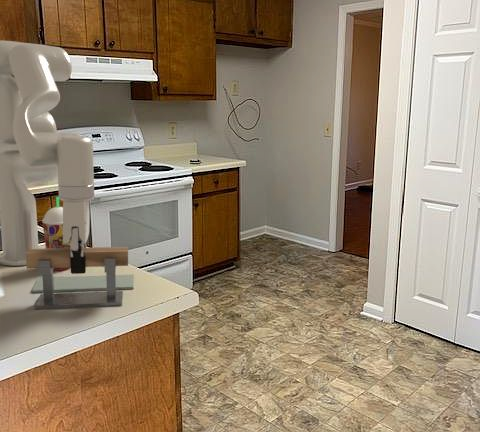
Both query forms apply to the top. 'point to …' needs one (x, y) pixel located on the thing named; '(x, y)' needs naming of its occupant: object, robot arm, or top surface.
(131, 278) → the mat
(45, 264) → the stand
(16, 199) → the robot arm
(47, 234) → the smoothie
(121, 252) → the rail
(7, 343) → the top surface
